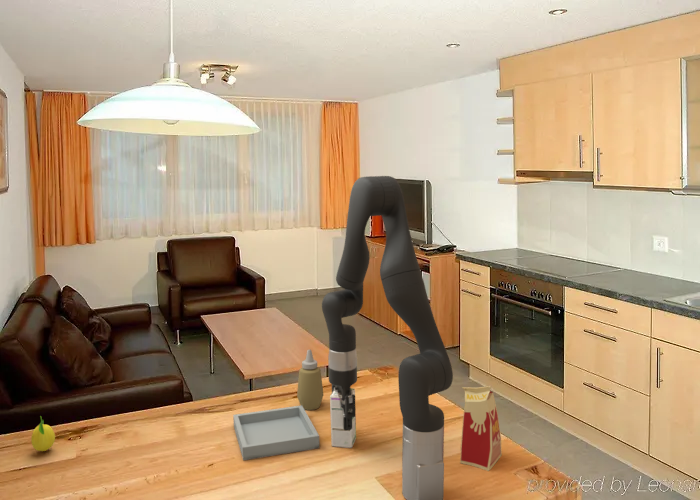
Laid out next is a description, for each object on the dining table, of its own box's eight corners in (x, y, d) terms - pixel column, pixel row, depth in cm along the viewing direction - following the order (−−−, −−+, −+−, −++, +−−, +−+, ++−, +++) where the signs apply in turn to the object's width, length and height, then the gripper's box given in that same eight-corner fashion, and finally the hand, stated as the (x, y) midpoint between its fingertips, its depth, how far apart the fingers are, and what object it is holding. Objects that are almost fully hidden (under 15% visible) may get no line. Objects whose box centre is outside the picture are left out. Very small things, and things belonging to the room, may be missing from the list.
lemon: (46, 459, 155) (43, 422, 153) (26, 457, 155) (22, 421, 154) (63, 446, 161) (59, 411, 159) (43, 444, 162) (39, 409, 160)
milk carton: (501, 455, 154) (504, 381, 151) (490, 471, 147) (492, 394, 143) (467, 446, 159) (469, 374, 156) (454, 462, 151) (456, 386, 148)
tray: (319, 448, 159) (319, 435, 158) (243, 460, 153) (242, 447, 152) (302, 416, 178) (301, 405, 177) (233, 426, 172) (233, 414, 171)
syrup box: (352, 448, 159) (351, 396, 156) (330, 446, 160) (329, 394, 157) (356, 438, 164) (356, 387, 162) (335, 436, 165) (334, 386, 163)
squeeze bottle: (293, 410, 182) (291, 353, 179) (303, 399, 189) (301, 344, 186) (318, 413, 180) (317, 355, 176) (327, 402, 187) (326, 347, 184)
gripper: (365, 372, 153) (365, 432, 155) (348, 354, 166) (348, 410, 169) (336, 376, 150) (337, 437, 153) (321, 357, 164) (322, 413, 167)
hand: (343, 422), depth 161 cm, fingers closed on syrup box, 7 cm apart
